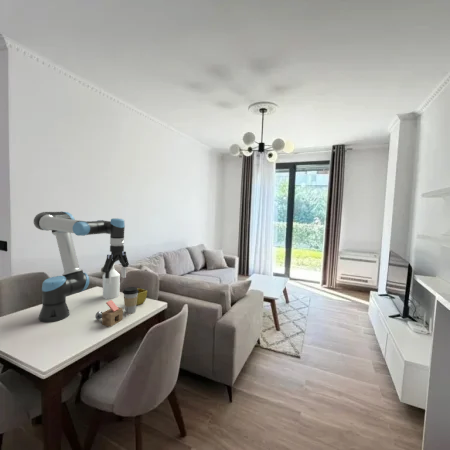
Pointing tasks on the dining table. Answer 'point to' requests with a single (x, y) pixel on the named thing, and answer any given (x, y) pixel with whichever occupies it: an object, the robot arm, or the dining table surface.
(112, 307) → the block
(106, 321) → the block
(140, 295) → the flower pot
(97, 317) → the pin
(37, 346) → the dining table surface
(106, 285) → the bottle
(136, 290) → the coffee cup
